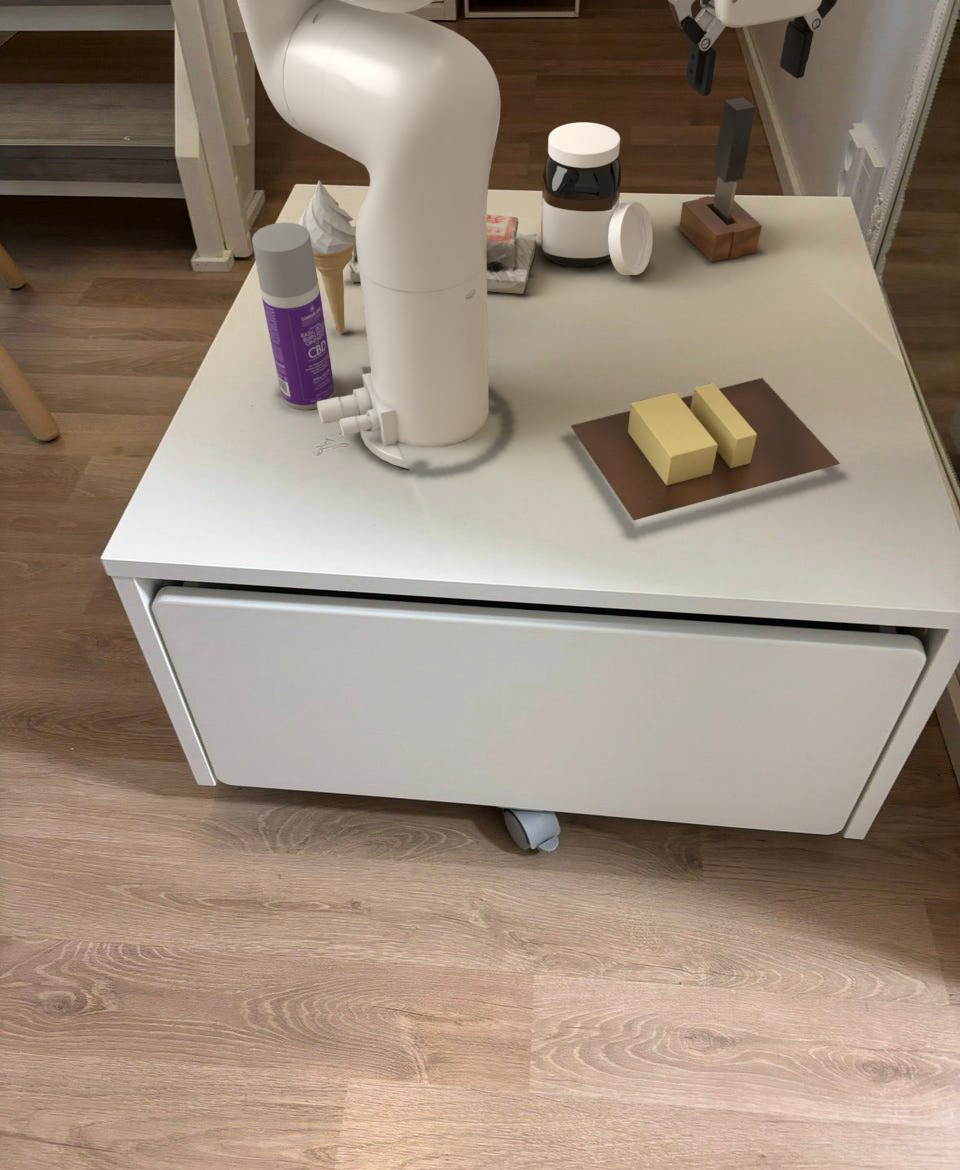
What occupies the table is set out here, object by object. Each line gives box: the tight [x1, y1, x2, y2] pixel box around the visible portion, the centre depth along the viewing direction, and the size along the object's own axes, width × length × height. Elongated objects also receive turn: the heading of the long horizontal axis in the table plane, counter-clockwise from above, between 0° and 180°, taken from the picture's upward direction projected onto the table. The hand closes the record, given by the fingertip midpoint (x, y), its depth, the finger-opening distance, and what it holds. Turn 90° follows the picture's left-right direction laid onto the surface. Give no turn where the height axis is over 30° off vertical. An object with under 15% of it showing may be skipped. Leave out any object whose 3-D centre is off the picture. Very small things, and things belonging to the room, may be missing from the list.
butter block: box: [628, 391, 718, 485], centre depth 81 cm, size 4×7×3 cm, turn 20°
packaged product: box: [346, 213, 538, 295], centre depth 103 cm, size 18×5×10 cm
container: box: [251, 222, 336, 411], centre depth 85 cm, size 5×5×15 cm
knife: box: [712, 97, 756, 225], centre depth 101 cm, size 2×3×14 cm, turn 20°
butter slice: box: [690, 382, 757, 468], centre depth 82 cm, size 2×7×3 cm, turn 20°
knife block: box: [678, 195, 763, 263], centre depth 106 cm, size 5×8×3 cm
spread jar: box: [540, 121, 654, 276], centre depth 101 cm, size 12×11×12 cm
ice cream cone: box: [296, 179, 356, 335], centre depth 91 cm, size 6×6×15 cm
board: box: [570, 377, 841, 521], centre depth 83 cm, size 18×12×2 cm, turn 110°
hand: (745, 81), depth 95 cm, fingers open, 9 cm apart
